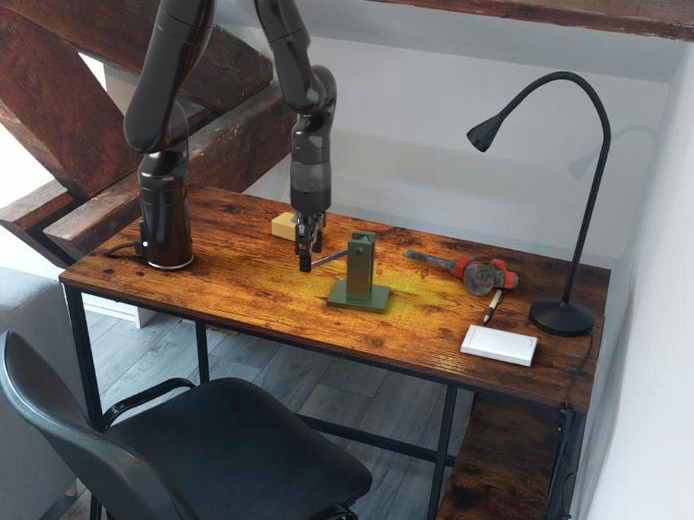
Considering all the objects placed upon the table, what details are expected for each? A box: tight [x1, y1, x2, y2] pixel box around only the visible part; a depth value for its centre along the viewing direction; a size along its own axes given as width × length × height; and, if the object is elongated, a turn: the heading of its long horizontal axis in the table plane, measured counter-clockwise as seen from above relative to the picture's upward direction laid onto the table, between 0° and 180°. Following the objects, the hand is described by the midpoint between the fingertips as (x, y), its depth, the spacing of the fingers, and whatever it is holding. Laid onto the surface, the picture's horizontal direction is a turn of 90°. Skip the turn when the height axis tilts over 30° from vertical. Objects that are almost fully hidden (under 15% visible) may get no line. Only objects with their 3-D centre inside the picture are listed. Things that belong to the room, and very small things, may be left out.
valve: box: [402, 248, 519, 296], centre depth 169 cm, size 6×26×15 cm
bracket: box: [326, 229, 392, 315], centre depth 154 cm, size 11×9×13 cm
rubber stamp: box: [271, 190, 323, 242], centre depth 177 cm, size 10×6×12 cm, turn 61°
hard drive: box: [460, 324, 538, 367], centre depth 145 cm, size 2×8×12 cm
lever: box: [301, 236, 369, 277], centre depth 154 cm, size 14×6×2 cm
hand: (311, 261), depth 156 cm, fingers open, 8 cm apart
